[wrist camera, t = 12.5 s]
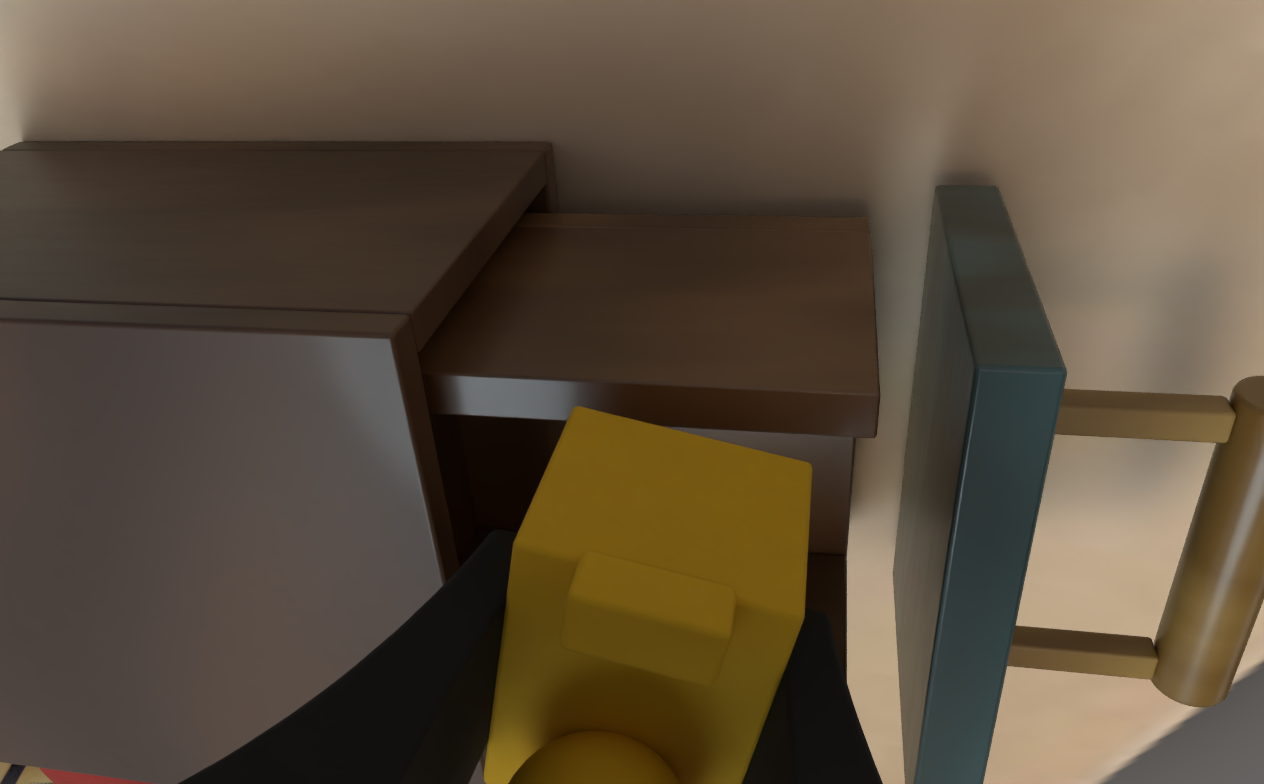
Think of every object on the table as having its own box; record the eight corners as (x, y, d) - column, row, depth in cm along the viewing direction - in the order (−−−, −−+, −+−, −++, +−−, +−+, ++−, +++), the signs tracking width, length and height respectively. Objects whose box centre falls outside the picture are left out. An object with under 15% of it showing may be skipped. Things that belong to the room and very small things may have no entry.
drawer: (1264, 186, 18) (1471, 387, 12) (1144, 593, 23) (1248, 873, 17) (403, 179, 21) (229, 335, 15) (470, 539, 27) (361, 759, 21)
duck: (575, 393, 13) (443, 687, 9) (817, 453, 13) (801, 784, 9) (531, 669, 17) (418, 986, 12) (725, 721, 16) (681, 1062, 12)
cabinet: (552, 140, 21) (392, 335, 14) (593, 544, 27) (497, 833, 20) (19, 140, 24) (-361, 304, 16) (164, 510, 29) (-65, 754, 22)
